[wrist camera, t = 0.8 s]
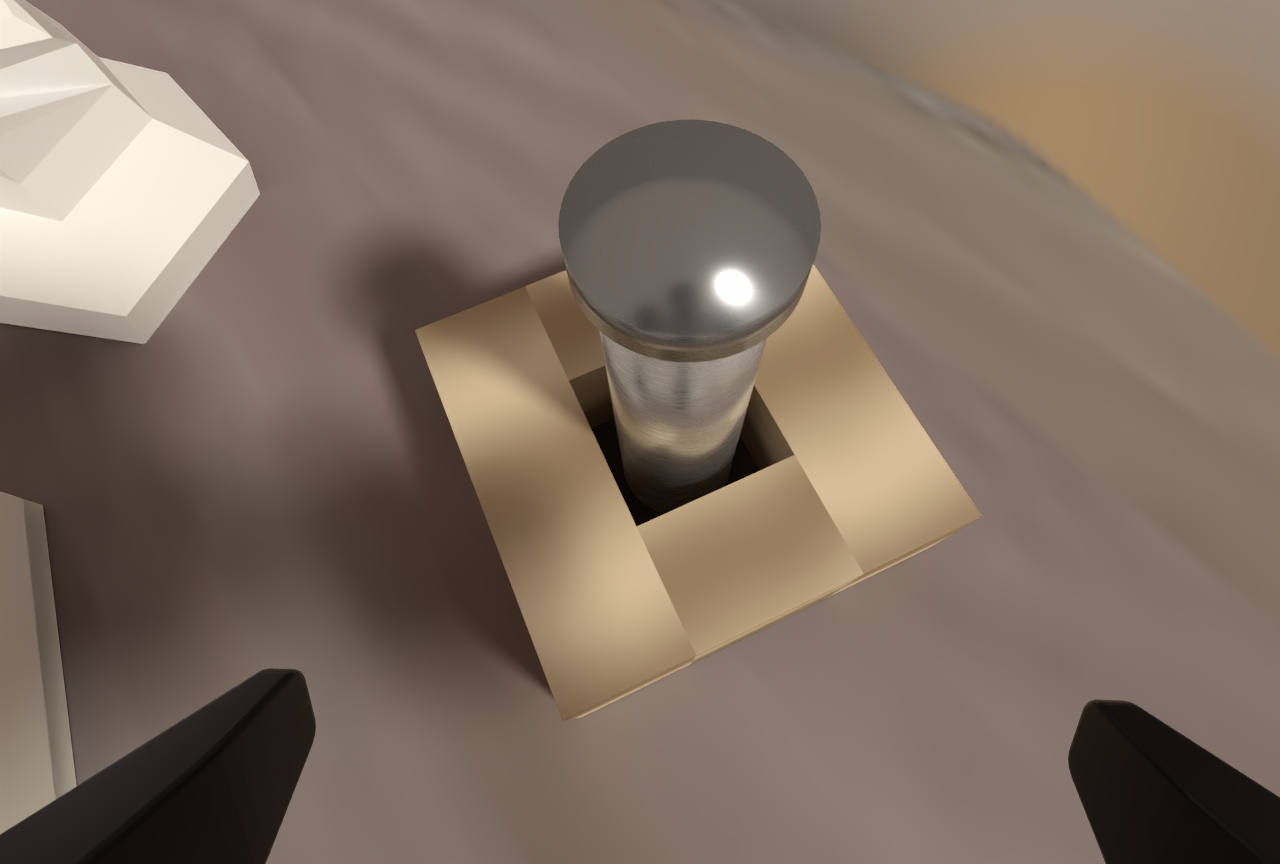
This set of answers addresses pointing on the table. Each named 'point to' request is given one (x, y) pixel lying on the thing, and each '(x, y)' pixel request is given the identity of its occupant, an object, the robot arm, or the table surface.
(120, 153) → the white tetrapod block
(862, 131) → the table surface
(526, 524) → the block
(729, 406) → the steel pin
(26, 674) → the tray
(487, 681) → the table surface
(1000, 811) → the table surface
